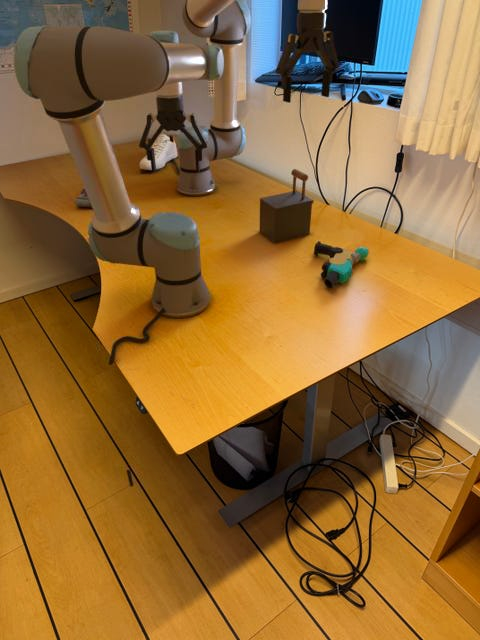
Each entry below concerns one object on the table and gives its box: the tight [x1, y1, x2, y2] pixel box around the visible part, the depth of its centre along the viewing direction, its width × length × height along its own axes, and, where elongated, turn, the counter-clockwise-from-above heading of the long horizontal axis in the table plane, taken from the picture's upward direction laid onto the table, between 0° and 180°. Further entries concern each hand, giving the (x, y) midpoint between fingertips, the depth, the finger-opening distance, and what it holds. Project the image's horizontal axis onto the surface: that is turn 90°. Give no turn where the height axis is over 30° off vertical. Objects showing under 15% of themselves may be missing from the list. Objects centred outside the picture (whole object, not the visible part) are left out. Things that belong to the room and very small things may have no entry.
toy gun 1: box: [74, 188, 92, 208], centre depth 180 cm, size 4×19×15 cm
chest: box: [259, 201, 313, 244], centre depth 155 cm, size 14×10×11 cm
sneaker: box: [139, 133, 179, 171], centre depth 214 cm, size 10×29×12 cm, turn 163°
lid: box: [259, 168, 315, 212], centre depth 150 cm, size 14×10×9 cm
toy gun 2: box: [313, 240, 370, 290], centre depth 137 cm, size 4×26×15 cm
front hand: (176, 171), depth 145 cm, fingers open, 13 cm apart
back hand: (306, 99), depth 137 cm, fingers open, 13 cm apart
